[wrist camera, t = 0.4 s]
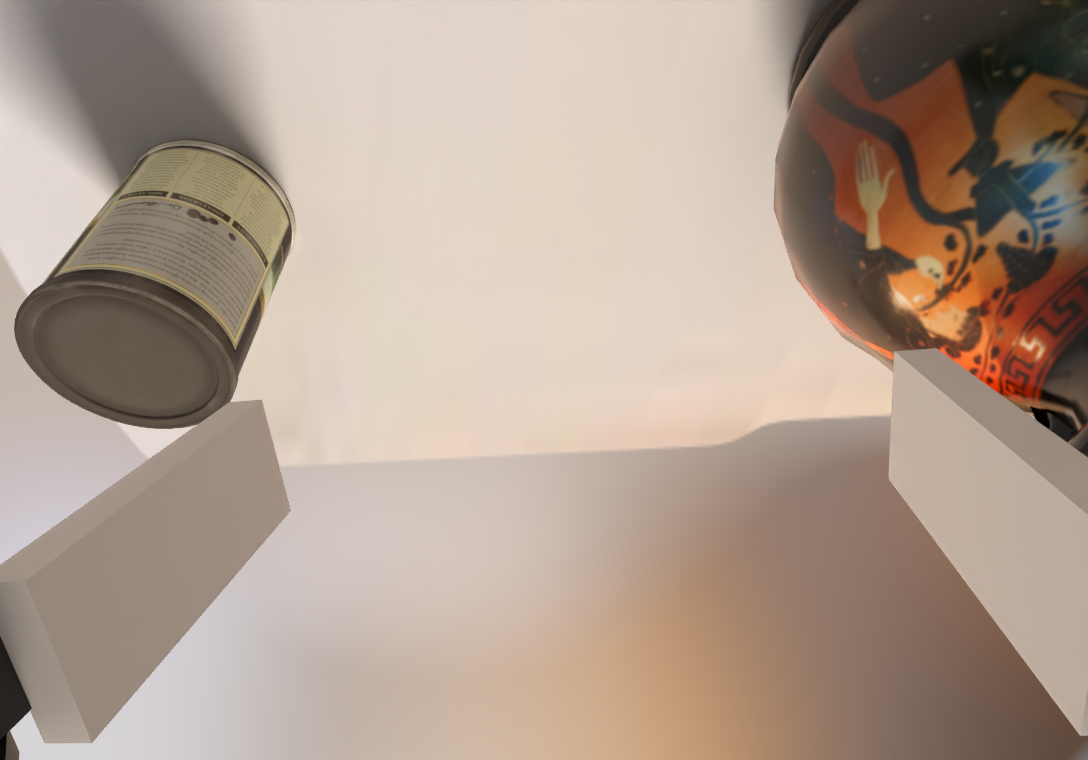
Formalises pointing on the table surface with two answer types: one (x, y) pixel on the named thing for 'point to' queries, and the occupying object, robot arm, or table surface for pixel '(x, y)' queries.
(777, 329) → the table surface
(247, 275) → the coffee can
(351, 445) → the table surface
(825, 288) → the black vase
